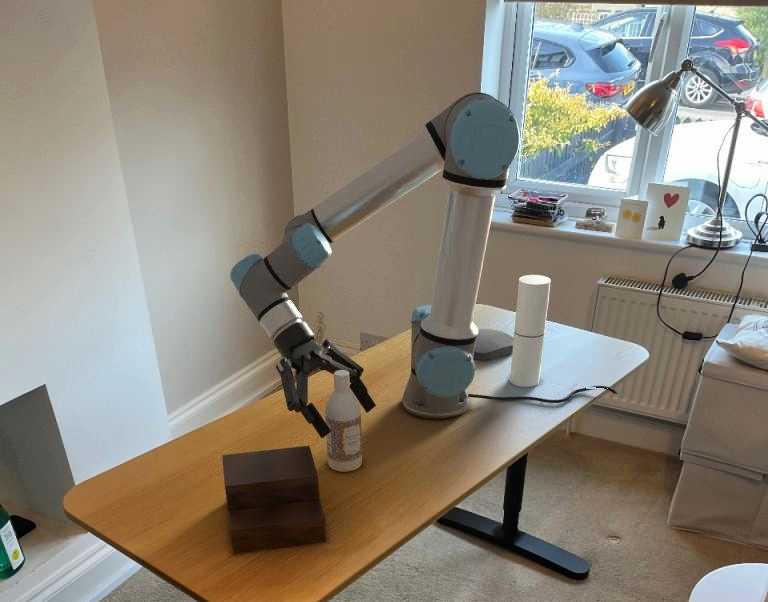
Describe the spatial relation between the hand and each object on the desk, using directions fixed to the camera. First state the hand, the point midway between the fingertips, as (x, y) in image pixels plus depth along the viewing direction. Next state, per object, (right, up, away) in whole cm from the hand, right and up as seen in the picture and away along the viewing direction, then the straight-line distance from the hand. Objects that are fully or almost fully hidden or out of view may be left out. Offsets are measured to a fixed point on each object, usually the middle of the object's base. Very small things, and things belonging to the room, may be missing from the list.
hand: (349, 421), depth 149 cm
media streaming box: (+34, +26, +57) cm, 71 cm away
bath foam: (-1, -8, +7) cm, 11 cm away
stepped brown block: (-13, -19, -10) cm, 25 cm away
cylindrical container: (+41, +15, +40) cm, 59 cm away
